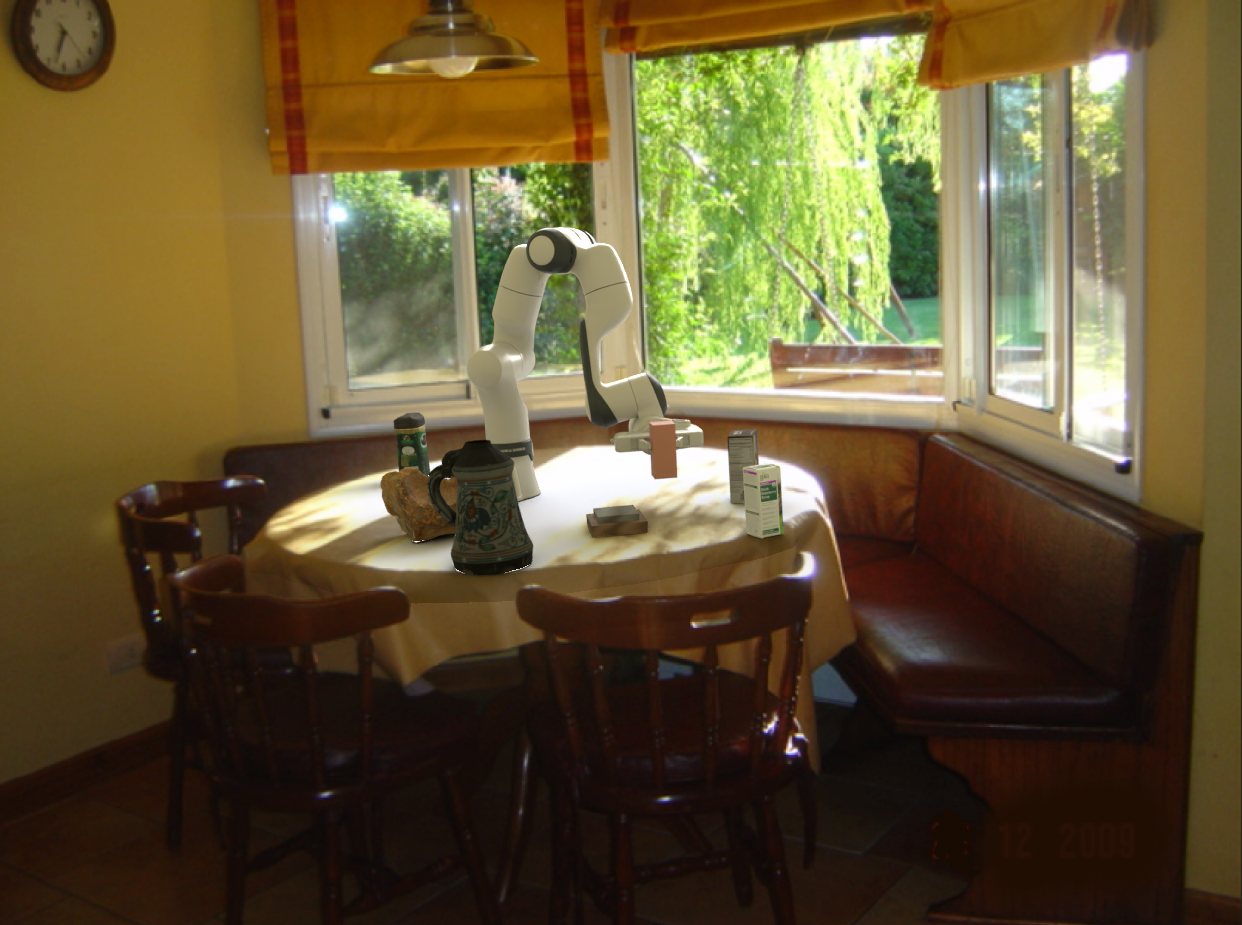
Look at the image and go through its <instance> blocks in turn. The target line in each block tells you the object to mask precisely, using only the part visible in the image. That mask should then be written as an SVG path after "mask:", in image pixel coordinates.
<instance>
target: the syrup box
mask: <svg viewBox="0 0 1242 925" xmlns="http://www.w3.org/2000/svg"><path fill="white" fill-rule="evenodd" d="M743 483H744V499H745V503H744V512H745V530H746V534H747V535H750V536H752V537H756V538H759V539H764V538H769V537H774V536H778V535H779V536H781V535H784V516H783V514H784V513H783V497H782V496H783V495H782V494H783V492H782V475H781V467H780V465H777V464H773V463H766V462H764V463H762V464H759V465H755V466H749V467H744V468H743Z"/></svg>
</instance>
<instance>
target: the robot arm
mask: <svg viewBox="0 0 1242 925" xmlns="http://www.w3.org/2000/svg"><path fill="white" fill-rule="evenodd" d="M553 274H554V275H568V274H572V275H574V276H575V277H576V278H577V280H579V284H580V285H581V289H582V293H583V296H584V300H585V314H584V317H582V319H581V320H580V321H579V324H578V325H579V326H578V335H579V348H580V355H581V356H580V357H581V363H582V364H581V365H582V373H583V381H584V389H585V394H584V395H585V398H584V400H585V401H584V406H585V412H586V416H587V417H588V419H589V421H590V423H591V424H592V425H595V426H597V427H599V428H602V429H609V428H610V427H613V426H615V425H617V424H618V425H619V423H622V422H626V421H629V422H628V431H620V432H616V433H615V434H614V435H613V437H611V438H610V442H611V444H614V451H615V452H616V453H631V452H632V453H633V452H643V453H644V454H646V455H649V456H651V454H650V450H652V442H651V441H650V433H649V422H657V421H672V422H674V423H675V433H676V451H678V450H683V449H689V448H699V447H704V442H705V440H704V431H703V429H702V428H701V427H699V426H698V425H696V424H693V423H691V420H690V419H678V418H669V417H665V416H666V413H667V410H668V404H667V403H668V402H667V399H666V395H665V392H664V389H663V387H662V385H661V383H660V381H659V380H658V378H657V377H655V376H654V375H652V374H651V373H649V372H646V371H645V372H641V373H637V374H635V375H630V376H627V377H625V378H622V379H618V380H615V381H611V382H608V383H603V382H602V377H601V376H602V375H601V369H600V368H601V367H600V360H599V354H598V353H599V352H598V351H599V350H598V349H599V347H600V344H601V342H602V341H603V340H604V339H606V337H607V336H608V335H609V334H611V333H612V332H614V330H616V329H617V328H619V327H620V326H621V325H622V324H623V323H624V322H626V321H627V319H628V318H629V316H630V315H631V313H632V312H633V311H632V310H633V308H634V300H633V299H634V298H633V293H632V288H631V286H630V285H631V284H630V281H629V278H628V276H627V272H626V270H625V268H624V265H623V263H622V261H621V259H620V256H619V255H618V253H617V251H616V250H615V248H614V247H613V246H612V245H610V244H608V243H603V242H601V243H600V242H597V241H596V240H595V238H594V237H593V236H592V235H591V234H590V233H588V231H586V230H583V229H580V228H572V227H568V226H567V227H566V226H558V227H545V228H541V229H538V230H537V231H535V232H533V234H531V235H530V237H529V239H527V243H523V244H519V245H517V246H514V247H513V249H512V250H511V251H510V254H509V256H508V258H507V260H506V263H505V265H504V268H503V270H502V273H501V277H500V281H499V284H498V288H497V292H496V296H495V300H494V304H493V308H492V312H491V316H492V320H493V325H494V326H493V328H494V329H493V339H492V342H491V343H490V344H486V345H482V346H480V347H479V348H478V349H476V350H475V351H474V352H473V353H472V354H471V355H470V356H469V358H468V360H467V363H466V372H467V373H466V374H467V377H468V378H469V380H470V382H471V383H472V384H473V385H474V386H475V389H476V392H477V396H478V397H479V401H480V405H481V408H482V412H483V419H484V430H485V440H490V441H491V444H492V445H494V446H495V447H496V448H497V449H498V450H500V451H502V452H503V453H505V454H506V455H508V456H509V457H511V459H512V460H513V461H514V470H513V472H512V478H513V482H514V486H515V491H516V495H517V499H518V502H520V501H522V500H525V499H529V498H533V497H536V496H539V495H540V493H541V492H542V491H541V489H540V486H539V483H538V480H537V476H536V472H535V468H534V462H533V461H534V445H533V440H532V438H531V435H530V423H529V420H530V419H529V410H528V407H527V405H526V404H525V402H524V400H523V399H522V395H521V392H520V390H519V384H518V382H521V381H523V380H524V379H526V378H527V377H528V376H529V375H530V373H532V372H533V369H534V368H535V364H536V354H535V352H534V349H535V348H534V347H535V333H536V332H535V331H536V327H537V326H536V324H537V320H538V317H539V312H540V308H541V305H542V300H543V297H544V295H545V294H544V293H545V289H546V286H547V282H548V280H549V278H550V277H551V276H552V275H553Z"/></svg>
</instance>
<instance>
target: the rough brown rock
mask: <svg viewBox="0 0 1242 925" xmlns="http://www.w3.org/2000/svg"><path fill="white" fill-rule="evenodd" d="M428 478H429V476H425V475H424V474H422V473H421V472H420V470H419V469H417V468H412V467H409V468H404V469H401V470H400V471H399V470H398V471H397V470H394V471H390V472H387V473H385V474H383V475H382V476H381V480H380V482H379V483H380V488H381V498H382V501H383V504H384V507H385V509H386V512H387V513H388V514H390V515H391V516H393V517H395V519H396V522H397V524H398V525H399V527H400V529H401V531H402V532H403V531H404V532H403V533H405V532H407V533H408V534H407V533H406V534H407V535H408V536H409V538H410V540H411V541H412V540H413V541H422V540H427V541H429V540H428V539H430V540H432V539H435V538H437V537H439V536H444V535H451V534H454V535H455V530H456V528H455V527H453V526H452V525H450V524H449V523H448V522H447V521H446V520H445V519H444V518H443V517H442V516H441V515H440V514H439V513H438V512H437V511H436V509H435V508H434V506H433V505H432V503H431V501H430V499H429V496H428V492H427V481H428ZM440 493H441V495H442V497H443V498H444V500H445V501H446V503H447V504H448V505H449V506H450V507H451V508H452V509H453V510H454V511H455V512H456V505H457V479H456V478H455V477H451V478H444V479H443V480H442V481H441V484H440Z"/></svg>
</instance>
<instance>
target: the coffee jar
mask: <svg viewBox="0 0 1242 925" xmlns="http://www.w3.org/2000/svg"><path fill="white" fill-rule="evenodd" d="M393 429H394V435H395V442H396V452H397V464H398V466H397V467H398V468H397V469H398V472H399V471H400V470H401V469H404V468H409V467H412V468H417V469H419V470H420V472H421V473H422V474H424V475H425V476H428V475H429V473H430V472H431V468H430V467H431V466H430V460H429V454H428V453H429V452H428V451H429V450H428V445H427V444H428V443H427V434H426V430H427V429H426V420H425V416H424V415H423V414H422V413H420V412H406V413H404V414H402V415H400V416H398V417H397V418H395V419H394V420H393ZM428 477H429V476H428Z"/></svg>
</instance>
